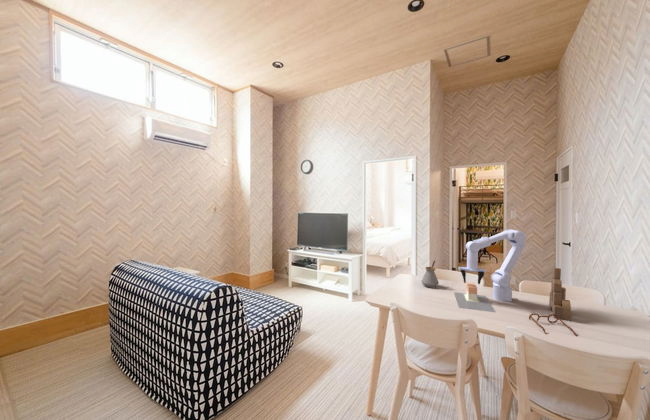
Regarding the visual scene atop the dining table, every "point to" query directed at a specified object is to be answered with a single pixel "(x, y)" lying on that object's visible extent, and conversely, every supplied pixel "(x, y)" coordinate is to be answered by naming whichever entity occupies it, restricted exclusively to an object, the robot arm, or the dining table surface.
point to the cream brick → (471, 296)
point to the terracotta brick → (471, 288)
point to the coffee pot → (430, 277)
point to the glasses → (549, 321)
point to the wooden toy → (559, 297)
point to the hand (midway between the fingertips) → (471, 283)
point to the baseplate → (474, 303)
